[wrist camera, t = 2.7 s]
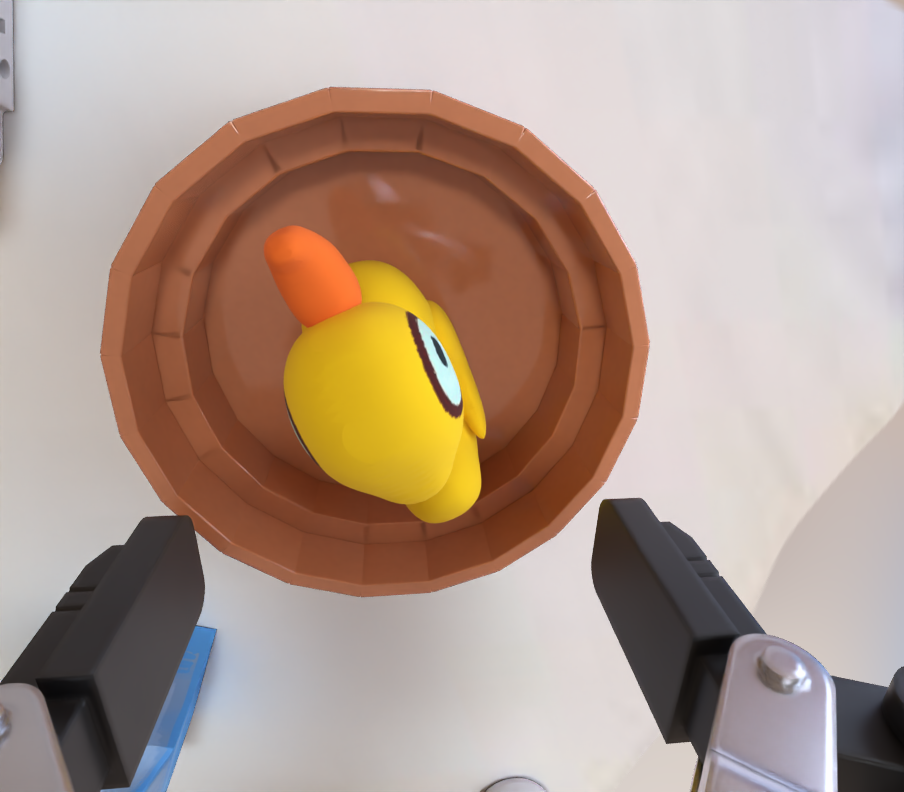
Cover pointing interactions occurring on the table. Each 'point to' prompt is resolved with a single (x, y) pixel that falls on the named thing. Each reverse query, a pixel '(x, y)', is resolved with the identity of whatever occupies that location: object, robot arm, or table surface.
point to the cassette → (6, 63)
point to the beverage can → (516, 786)
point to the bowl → (440, 280)
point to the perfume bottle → (173, 718)
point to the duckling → (377, 379)
